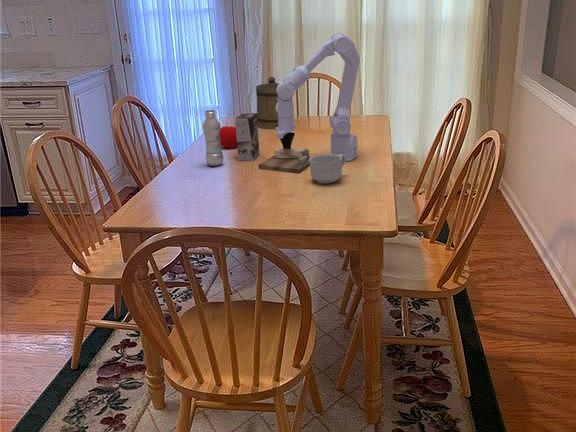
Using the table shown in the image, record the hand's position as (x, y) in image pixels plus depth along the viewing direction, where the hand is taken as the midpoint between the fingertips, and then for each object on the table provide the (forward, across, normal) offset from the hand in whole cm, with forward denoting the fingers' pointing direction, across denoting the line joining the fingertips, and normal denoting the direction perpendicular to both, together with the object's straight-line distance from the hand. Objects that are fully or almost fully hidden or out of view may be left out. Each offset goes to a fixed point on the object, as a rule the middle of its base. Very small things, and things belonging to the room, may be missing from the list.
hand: (287, 152), depth 210 cm
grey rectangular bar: (+1, +2, +2) cm, 3 cm away
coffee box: (+3, -1, -16) cm, 16 cm away
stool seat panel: (+3, +5, +2) cm, 6 cm away
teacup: (+3, +18, +21) cm, 28 cm away
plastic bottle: (+3, +11, -24) cm, 27 cm away
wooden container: (+3, -52, -24) cm, 57 cm away
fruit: (+3, -13, -29) cm, 32 cm away
